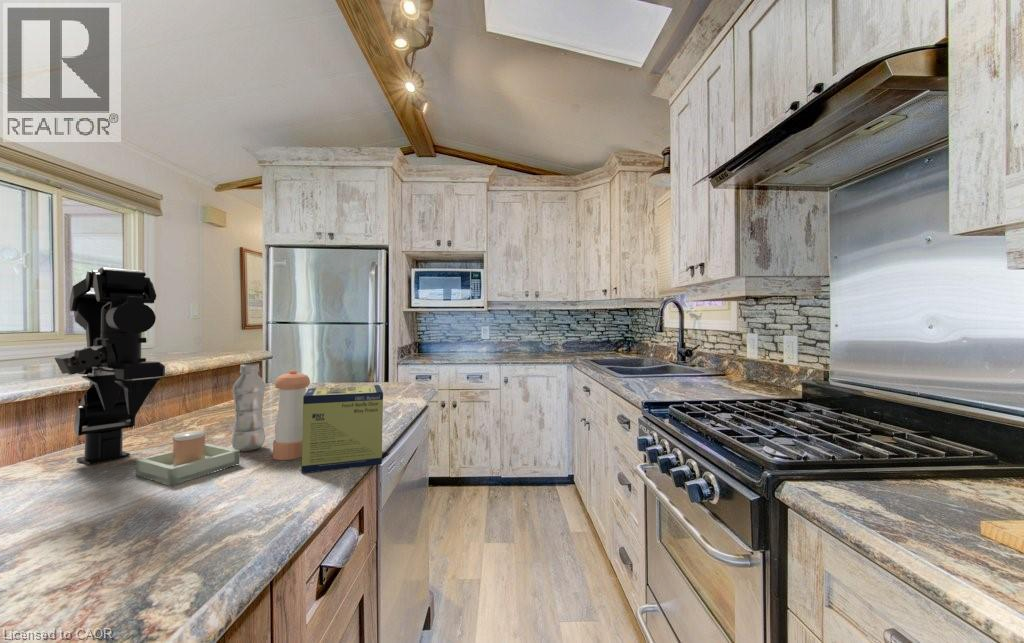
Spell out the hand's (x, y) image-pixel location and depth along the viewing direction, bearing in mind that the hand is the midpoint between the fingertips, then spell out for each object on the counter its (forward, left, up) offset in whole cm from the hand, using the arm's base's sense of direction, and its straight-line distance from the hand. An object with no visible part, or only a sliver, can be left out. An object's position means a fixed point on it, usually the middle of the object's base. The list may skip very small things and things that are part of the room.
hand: (120, 412), depth 77 cm
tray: (+10, +7, -12) cm, 17 cm away
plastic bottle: (+8, +20, -12) cm, 25 cm away
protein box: (+34, +24, -12) cm, 43 cm away
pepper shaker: (+20, +22, -12) cm, 32 cm away
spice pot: (+10, +7, -11) cm, 16 cm away
